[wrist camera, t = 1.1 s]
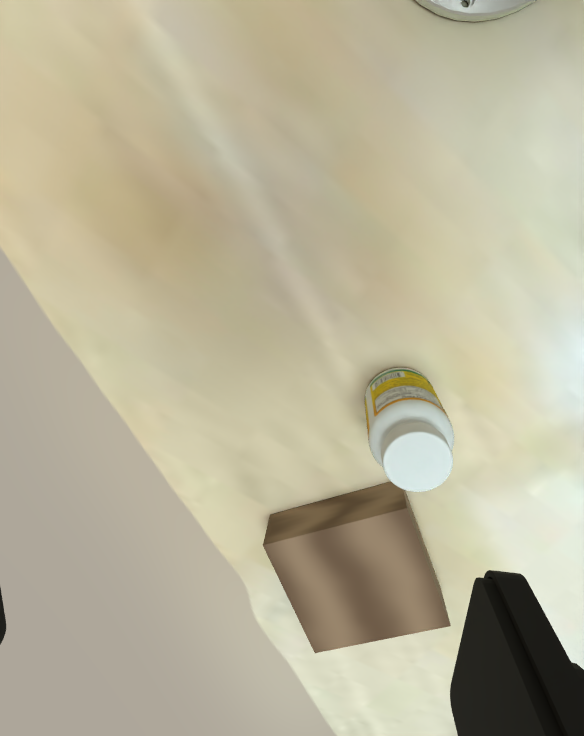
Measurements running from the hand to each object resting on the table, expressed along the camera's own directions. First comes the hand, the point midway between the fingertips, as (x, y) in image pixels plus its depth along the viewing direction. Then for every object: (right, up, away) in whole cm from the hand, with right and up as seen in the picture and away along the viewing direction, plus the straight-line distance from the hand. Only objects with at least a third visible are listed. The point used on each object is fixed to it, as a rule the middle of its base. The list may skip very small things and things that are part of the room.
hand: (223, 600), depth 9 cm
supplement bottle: (+10, +2, +28) cm, 29 cm away
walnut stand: (+7, -12, +32) cm, 35 cm away
